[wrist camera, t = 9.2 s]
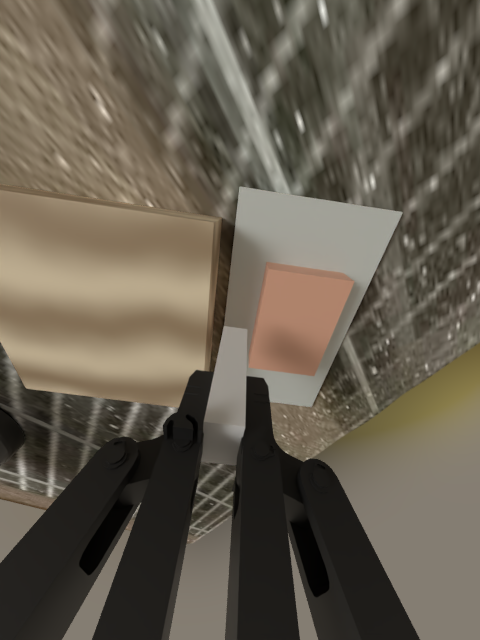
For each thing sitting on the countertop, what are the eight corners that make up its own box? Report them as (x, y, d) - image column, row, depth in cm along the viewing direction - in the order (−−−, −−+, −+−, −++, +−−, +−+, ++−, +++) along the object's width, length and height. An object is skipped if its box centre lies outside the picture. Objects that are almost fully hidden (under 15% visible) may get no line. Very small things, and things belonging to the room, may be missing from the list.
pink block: (248, 367, 18) (248, 353, 20) (314, 376, 19) (308, 361, 20) (268, 269, 14) (266, 261, 16) (354, 281, 14) (343, 272, 16)
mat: (310, 404, 24) (311, 407, 24) (216, 392, 24) (216, 395, 23) (399, 211, 14) (402, 212, 14) (240, 186, 14) (239, 186, 13)
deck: (209, 378, 23) (201, 410, 19) (61, 359, 22) (26, 388, 19) (222, 217, 15) (213, 222, 11) (-8, 182, 14) (-90, 176, 11)
